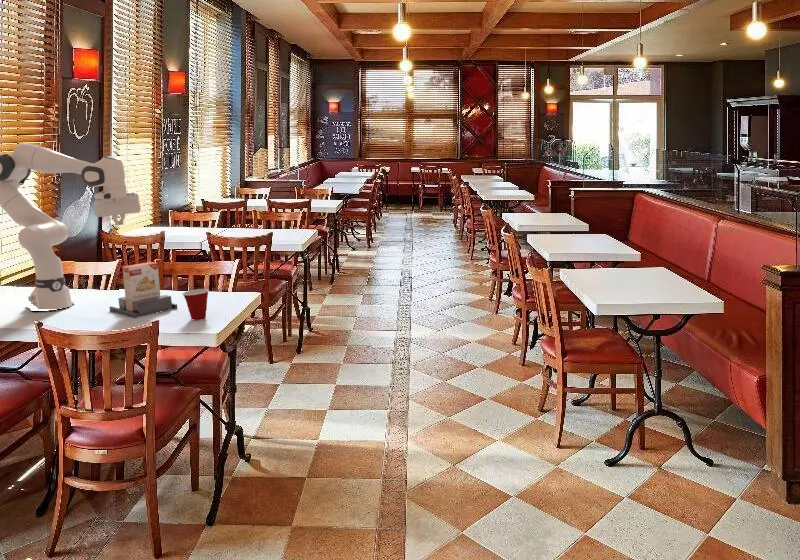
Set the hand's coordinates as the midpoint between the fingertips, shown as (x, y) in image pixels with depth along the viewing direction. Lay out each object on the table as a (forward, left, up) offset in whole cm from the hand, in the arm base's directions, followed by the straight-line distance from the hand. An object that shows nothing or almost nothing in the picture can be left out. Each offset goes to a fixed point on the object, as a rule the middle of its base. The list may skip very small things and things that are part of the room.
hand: (119, 224), depth 321 cm
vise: (+14, 0, -37) cm, 40 cm away
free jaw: (+10, 0, -37) cm, 38 cm away
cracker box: (+15, -1, -37) cm, 40 cm away
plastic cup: (+47, +5, -37) cm, 60 cm away
